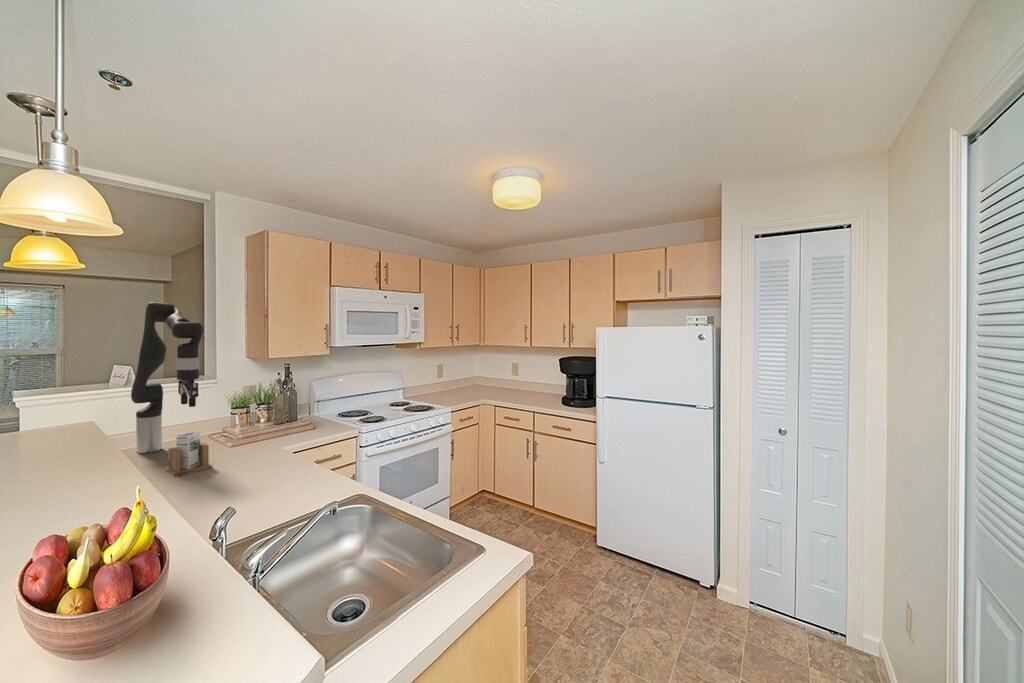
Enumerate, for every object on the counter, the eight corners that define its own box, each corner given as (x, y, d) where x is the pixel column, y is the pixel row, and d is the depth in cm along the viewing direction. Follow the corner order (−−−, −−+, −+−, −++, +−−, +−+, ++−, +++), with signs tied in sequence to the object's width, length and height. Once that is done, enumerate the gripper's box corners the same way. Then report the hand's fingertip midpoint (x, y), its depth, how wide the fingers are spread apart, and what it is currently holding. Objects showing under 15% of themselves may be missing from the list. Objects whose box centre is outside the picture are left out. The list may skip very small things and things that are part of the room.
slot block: (164, 470, 170) (164, 447, 170) (200, 462, 181) (200, 440, 181) (175, 476, 164) (175, 453, 163) (212, 467, 175) (212, 445, 174)
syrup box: (189, 469, 170) (189, 435, 169) (176, 468, 170) (175, 435, 169) (200, 464, 175) (200, 432, 175) (187, 464, 176) (187, 431, 175)
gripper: (170, 367, 172) (171, 404, 172) (183, 370, 164) (184, 409, 164) (191, 366, 178) (192, 402, 178) (205, 368, 170) (205, 406, 171)
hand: (188, 405), depth 171 cm, fingers open, 8 cm apart
